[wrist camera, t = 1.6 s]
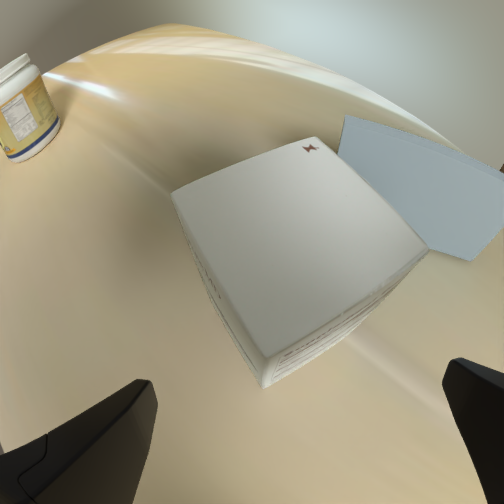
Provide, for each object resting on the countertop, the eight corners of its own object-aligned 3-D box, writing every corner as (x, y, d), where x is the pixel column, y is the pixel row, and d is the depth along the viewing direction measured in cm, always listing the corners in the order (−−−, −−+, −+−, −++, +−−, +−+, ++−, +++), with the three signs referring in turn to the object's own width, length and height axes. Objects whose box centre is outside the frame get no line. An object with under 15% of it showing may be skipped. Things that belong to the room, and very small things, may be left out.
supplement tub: (9, 152, 38) (-25, 88, 23) (56, 116, 42) (29, 49, 27) (13, 175, 33) (-32, 98, 18) (69, 132, 37) (34, 49, 23)
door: (468, 241, 23) (519, 174, 14) (471, 261, 22) (528, 195, 13) (325, 199, 26) (346, 106, 17) (322, 219, 25) (344, 123, 16)
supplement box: (211, 307, 21) (163, 186, 10) (294, 263, 23) (317, 129, 12) (260, 393, 18) (260, 365, 7) (348, 339, 19) (436, 244, 9)
